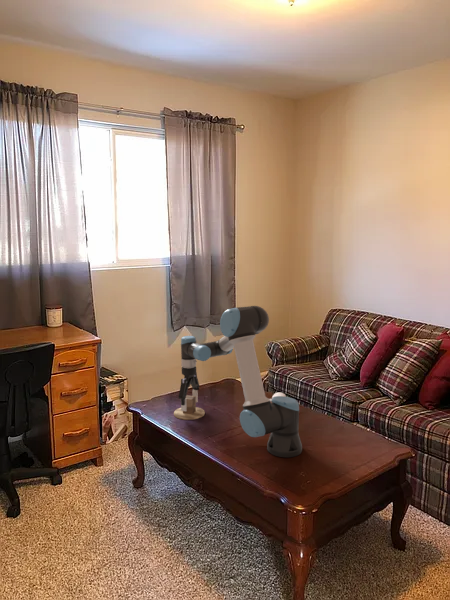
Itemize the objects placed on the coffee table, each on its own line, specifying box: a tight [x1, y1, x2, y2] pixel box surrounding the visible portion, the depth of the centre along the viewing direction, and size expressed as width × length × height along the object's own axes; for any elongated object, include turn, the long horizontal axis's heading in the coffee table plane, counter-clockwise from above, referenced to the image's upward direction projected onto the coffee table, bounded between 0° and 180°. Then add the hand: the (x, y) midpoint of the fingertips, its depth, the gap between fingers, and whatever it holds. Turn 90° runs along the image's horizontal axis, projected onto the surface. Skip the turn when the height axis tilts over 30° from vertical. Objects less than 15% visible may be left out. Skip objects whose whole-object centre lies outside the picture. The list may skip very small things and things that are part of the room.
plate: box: [173, 406, 206, 421], centre depth 254 cm, size 16×16×1 cm
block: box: [183, 394, 197, 415], centre depth 253 cm, size 5×5×8 cm
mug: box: [269, 392, 287, 403], centre depth 259 cm, size 12×10×8 cm
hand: (189, 406), depth 253 cm, fingers open, 13 cm apart
